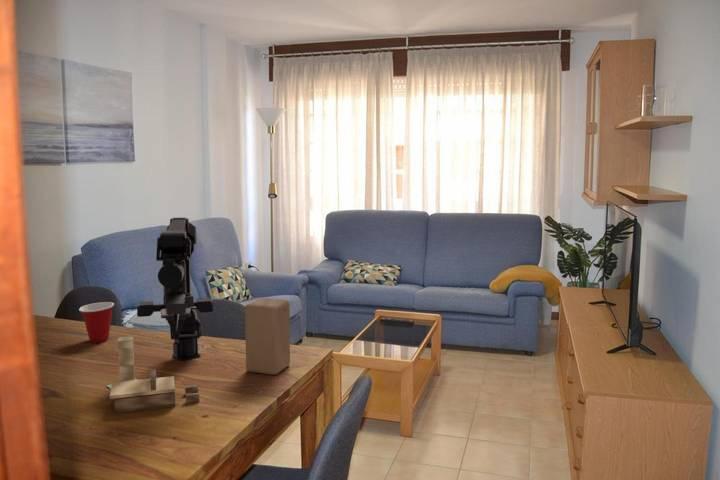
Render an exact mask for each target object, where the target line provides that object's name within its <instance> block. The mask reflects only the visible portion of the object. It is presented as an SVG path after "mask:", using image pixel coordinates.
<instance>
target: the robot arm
mask: <svg viewBox="0 0 720 480" xmlns="http://www.w3.org/2000/svg"><path fill="white" fill-rule="evenodd" d="M197 244H198V233H197V227H196V226H195V225H193V224H192V223H191V222H190V221H189V218H187V217H172V218H170V219H169V224H168V225H167V226H166V230H165V231H164V230H163V231H162V232H161V233H159V236H158V237H157V240H156V256H155V260H156V262H157V261H158V262H162V266H161V267H160V269H159V270H158V273H157V280H158V282H159V283H160V285H162V289H163V291H162V292H163V303H162V304H161V303H159V304H157V303H156V304H154V300H152V301H151V300H150V301H148V300H147V301H139V302H138V303H137V305H136V314H137V317H139V318H142V317H151V316H152V315H153V314H154V313H155V312H156V313H157V312H159V313H160V318H161V319H164V320H166V322H167V324H168V325H169V331H170V333H169V334H170V340H173V343H172V349H173V350H172V353H173V354H171V356H172V357H174V358H176V359H178V360H179V361H186V360H190V359H195V358H198V357H201V353H199V345H198V339H200V338H202V337H203V328H202V327H203V326H202V322H201V320H200V318H198V314H197V311H198V312H200V313H212V312H214V304H213V300H212V299H211V298H210V297H202V298H196V299H195V301H194V293H193V292H192V287H191V286H192V285H191V282H192V281H191V280H192V279H191V256H192V255H193V252H194V251H195V249H196V245H197ZM196 310H197V311H196Z"/></svg>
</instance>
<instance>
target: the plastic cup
mask: <svg viewBox="0 0 720 480" xmlns="http://www.w3.org/2000/svg"><path fill="white" fill-rule="evenodd" d="M114 305H115V303H114V302H112V301H103V302H95V303H90V304H85V305H83V306H80V308H79V309H78V310H79V312H80V313H81V315H82V317H83V321H84V325H85V328H86V332H87V335H88V339H89V341H90V342H91V343H102V342H106V341H108V340H109V337H110V332H111V331H110V330H111V324H112V323H111V322H112V315H113V308H114Z"/></svg>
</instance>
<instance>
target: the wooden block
mask: <svg viewBox="0 0 720 480" xmlns="http://www.w3.org/2000/svg"><path fill="white" fill-rule="evenodd" d="M290 306H291V305H290V301H289V300H288V299H279V298H278V299H277V298H268V297H260V298H258V299H256V300H253V301H251V302H249V303H247V304H245V306H244V320H245V321H244V325H245V326H244V329H245V330H244V331H245V333H244V334H245V370H246V371H248V372H251V373H258V374H264V375H265V374H266V375H272V376H275V375H276V376H277V374H279V373H281V372H282V371H283V370H284V369H286V368H287V367H289V366H290V363H291V338H290V337H291V328H290V327H291V325H290V323H291V322H290V321H291V318H290V317H291V315H290V308H291V307H290Z"/></svg>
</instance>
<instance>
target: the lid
mask: <svg viewBox="0 0 720 480" xmlns="http://www.w3.org/2000/svg"><path fill="white" fill-rule="evenodd" d="M111 384H112V386H111V389H110V392H109V400H112V399H113V400H114V398H123V397H133V396H142V395H151V394H160V393H170V392H175V393H176V387H175V385H176V384H175V376H174V375H173V376H162V377H157V369H150V378H145V379H143V378H142V379H138V380H131V381H121V382H120V381H114V382H113V381H112V382H111Z"/></svg>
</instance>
